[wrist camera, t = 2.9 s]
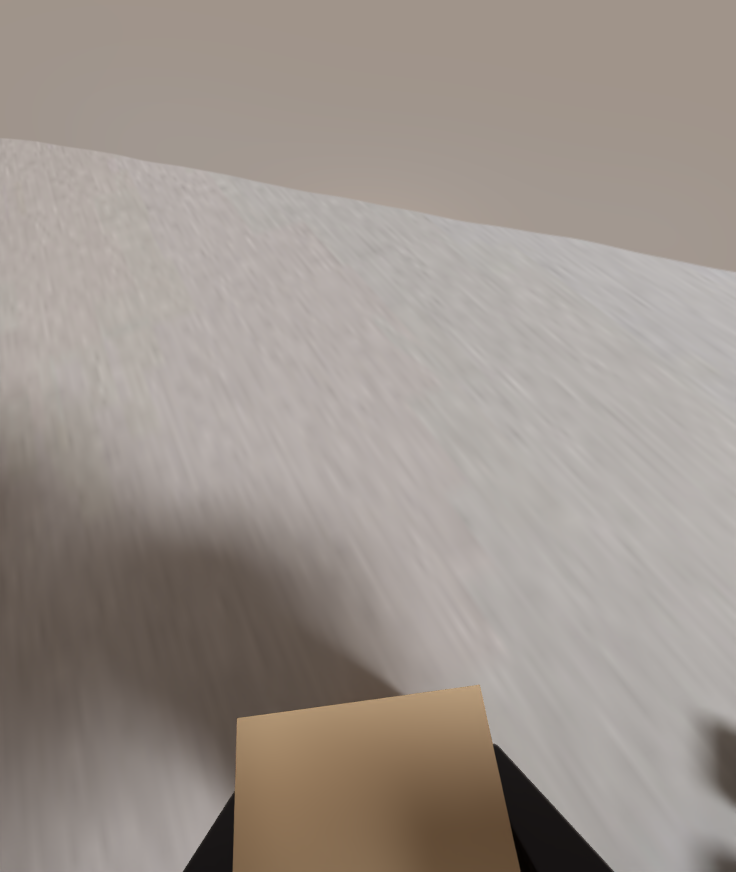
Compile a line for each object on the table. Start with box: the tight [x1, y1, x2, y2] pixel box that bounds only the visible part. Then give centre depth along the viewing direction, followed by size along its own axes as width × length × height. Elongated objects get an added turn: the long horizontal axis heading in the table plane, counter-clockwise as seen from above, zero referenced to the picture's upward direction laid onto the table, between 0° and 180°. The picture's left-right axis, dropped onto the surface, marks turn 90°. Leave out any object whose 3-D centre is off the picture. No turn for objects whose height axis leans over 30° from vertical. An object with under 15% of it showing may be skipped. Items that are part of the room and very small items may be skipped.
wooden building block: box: [233, 685, 520, 872], centre depth 10 cm, size 5×4×12 cm
